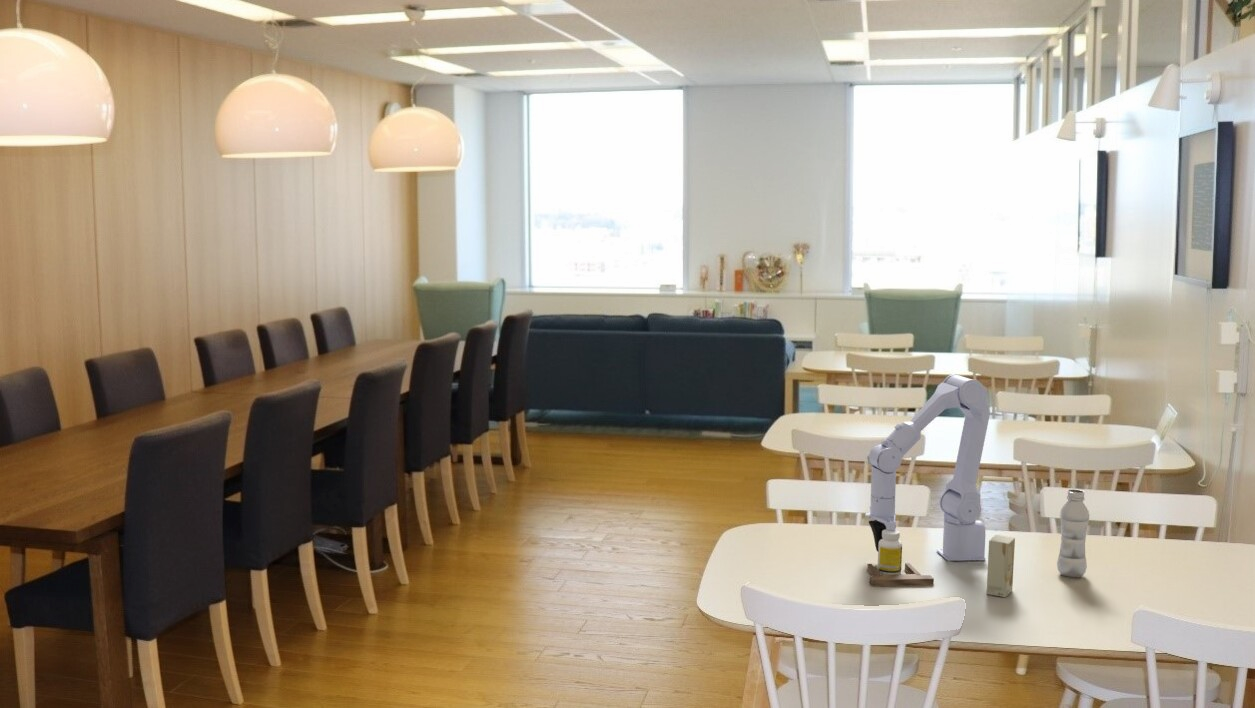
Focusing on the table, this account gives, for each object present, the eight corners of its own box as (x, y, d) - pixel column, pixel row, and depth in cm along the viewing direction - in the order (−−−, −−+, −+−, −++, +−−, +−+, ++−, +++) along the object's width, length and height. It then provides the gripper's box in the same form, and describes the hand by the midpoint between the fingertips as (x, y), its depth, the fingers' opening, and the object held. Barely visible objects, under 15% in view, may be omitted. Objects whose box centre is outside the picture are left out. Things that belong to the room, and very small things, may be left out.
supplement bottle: (904, 575, 269) (905, 534, 268) (881, 576, 269) (882, 535, 267) (897, 568, 274) (898, 527, 273) (874, 568, 274) (875, 528, 273)
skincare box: (1005, 598, 254) (1008, 543, 253) (985, 594, 257) (988, 540, 255) (1013, 590, 260) (1015, 536, 258) (993, 586, 262) (996, 533, 260)
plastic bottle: (1087, 573, 271) (1092, 489, 269) (1085, 582, 265) (1090, 496, 263) (1057, 569, 274) (1062, 486, 271) (1055, 578, 268) (1059, 493, 265)
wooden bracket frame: (917, 569, 274) (917, 562, 274) (933, 585, 263) (933, 578, 263) (858, 570, 273) (858, 563, 273) (872, 586, 262) (872, 579, 262)
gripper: (858, 488, 284) (856, 542, 286) (875, 504, 270) (873, 561, 272) (886, 487, 285) (885, 541, 287) (905, 503, 270) (903, 560, 272)
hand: (881, 551), depth 279 cm, fingers closed
